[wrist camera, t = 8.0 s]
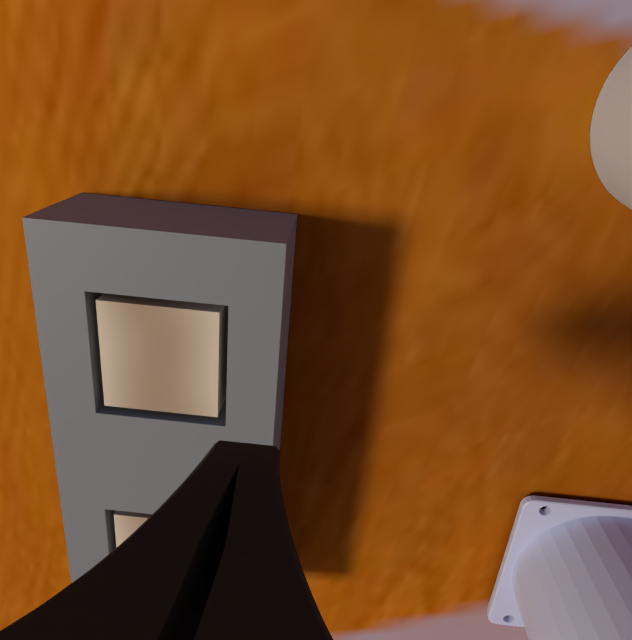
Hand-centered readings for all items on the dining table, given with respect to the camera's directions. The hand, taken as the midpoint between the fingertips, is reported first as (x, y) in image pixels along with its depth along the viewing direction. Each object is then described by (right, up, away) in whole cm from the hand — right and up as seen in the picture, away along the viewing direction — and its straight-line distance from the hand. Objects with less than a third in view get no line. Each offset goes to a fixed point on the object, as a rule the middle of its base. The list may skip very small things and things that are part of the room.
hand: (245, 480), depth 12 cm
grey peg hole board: (-4, 0, +12) cm, 12 cm away
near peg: (-4, +4, +10) cm, 11 cm away
